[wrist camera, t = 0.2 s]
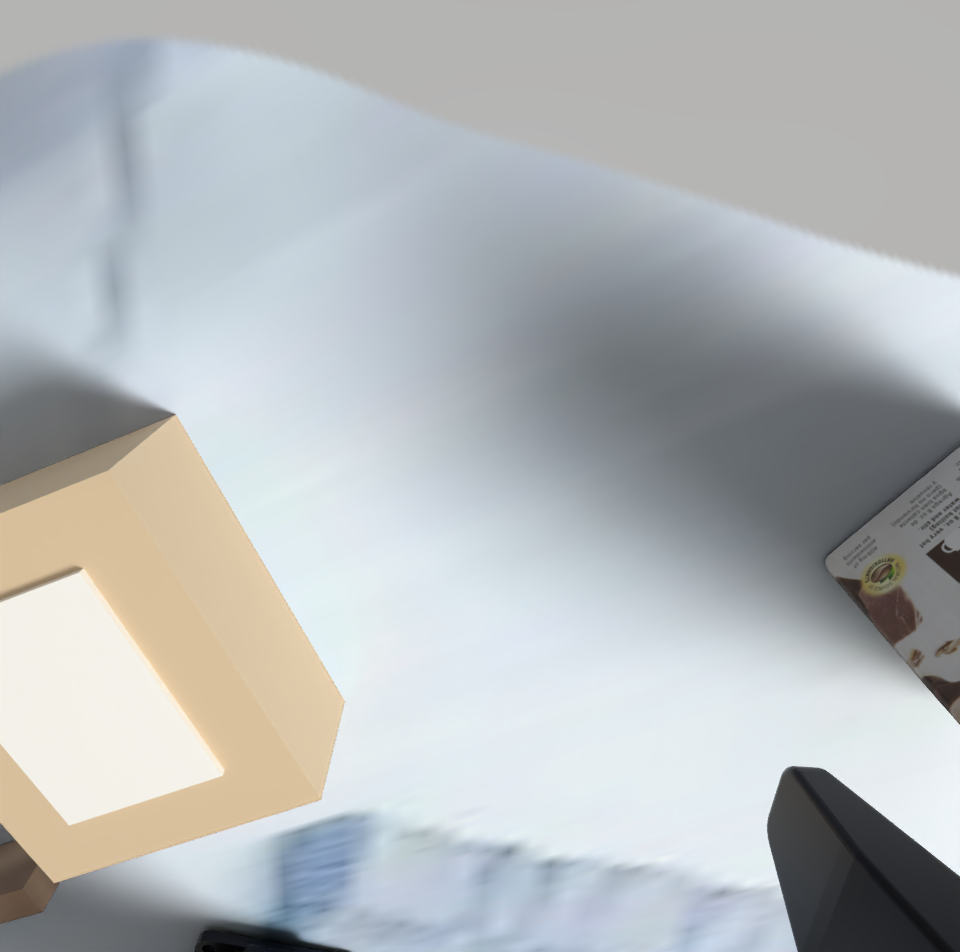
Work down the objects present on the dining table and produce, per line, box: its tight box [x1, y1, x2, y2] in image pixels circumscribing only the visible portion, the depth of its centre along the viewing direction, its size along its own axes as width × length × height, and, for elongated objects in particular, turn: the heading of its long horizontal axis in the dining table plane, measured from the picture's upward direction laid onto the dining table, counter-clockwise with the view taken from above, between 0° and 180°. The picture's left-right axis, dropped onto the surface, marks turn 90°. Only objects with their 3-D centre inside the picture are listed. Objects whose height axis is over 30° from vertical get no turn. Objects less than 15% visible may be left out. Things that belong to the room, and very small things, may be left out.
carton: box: [0, 414, 345, 883], centre depth 22 cm, size 9×11×5 cm
